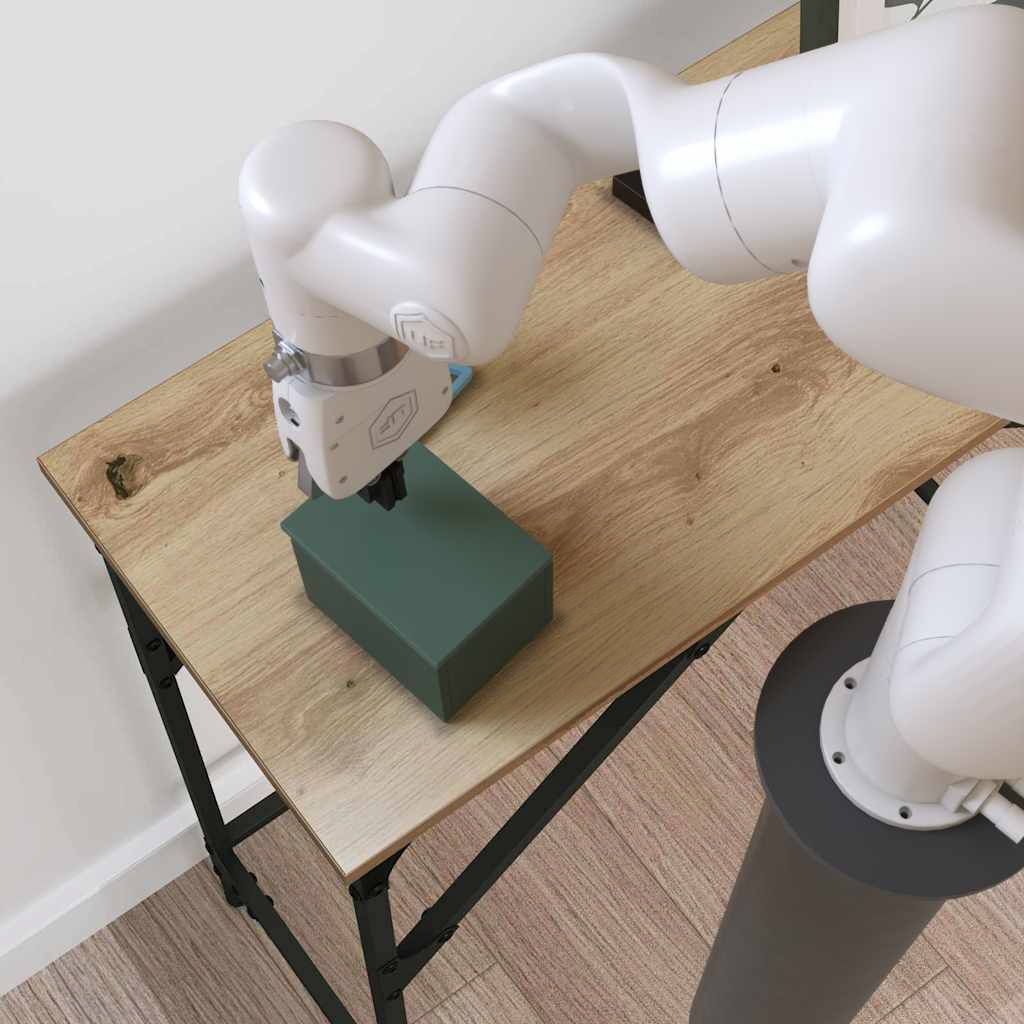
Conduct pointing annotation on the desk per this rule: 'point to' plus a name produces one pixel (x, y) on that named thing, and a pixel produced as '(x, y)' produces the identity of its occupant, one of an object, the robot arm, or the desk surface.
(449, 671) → the green box
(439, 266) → the robot arm
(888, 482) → the desk surface
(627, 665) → the desk surface
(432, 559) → the box lid
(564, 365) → the desk surface
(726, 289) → the desk surface
